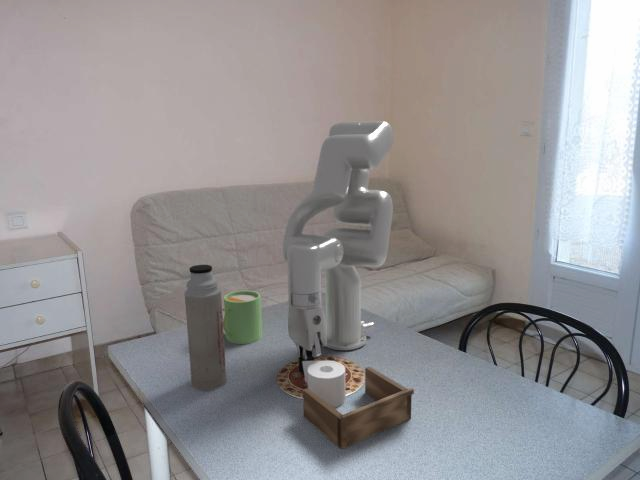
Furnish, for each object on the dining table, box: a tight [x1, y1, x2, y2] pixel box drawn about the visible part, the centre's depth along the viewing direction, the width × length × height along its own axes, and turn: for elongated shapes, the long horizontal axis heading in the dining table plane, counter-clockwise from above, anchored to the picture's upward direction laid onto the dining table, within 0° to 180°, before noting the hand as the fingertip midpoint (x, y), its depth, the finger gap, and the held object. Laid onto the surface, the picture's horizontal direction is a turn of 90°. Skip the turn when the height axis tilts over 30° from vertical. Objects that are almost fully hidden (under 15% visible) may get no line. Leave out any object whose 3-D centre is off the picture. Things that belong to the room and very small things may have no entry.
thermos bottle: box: [184, 264, 227, 392], centre depth 116 cm, size 8×8×28 cm
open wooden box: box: [302, 366, 415, 450], centre depth 102 cm, size 17×14×7 cm
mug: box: [222, 290, 263, 345], centre depth 142 cm, size 13×10×12 cm
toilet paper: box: [302, 360, 347, 409], centre depth 111 cm, size 8×11×7 cm
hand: (306, 372), depth 118 cm, fingers closed
